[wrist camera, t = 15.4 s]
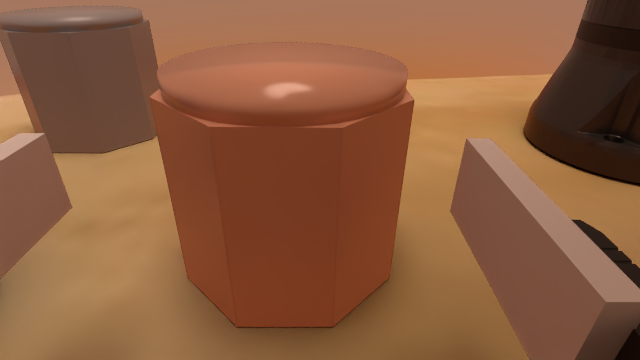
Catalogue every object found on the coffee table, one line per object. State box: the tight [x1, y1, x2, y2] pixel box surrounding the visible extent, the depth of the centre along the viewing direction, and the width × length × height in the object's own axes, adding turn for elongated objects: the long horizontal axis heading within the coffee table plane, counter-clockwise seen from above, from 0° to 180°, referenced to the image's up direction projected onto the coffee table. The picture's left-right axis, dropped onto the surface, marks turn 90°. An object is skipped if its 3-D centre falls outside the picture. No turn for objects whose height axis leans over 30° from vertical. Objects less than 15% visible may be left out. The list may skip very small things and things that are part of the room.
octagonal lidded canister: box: [149, 42, 414, 327], centre depth 18 cm, size 10×10×10 cm
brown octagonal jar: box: [0, 6, 160, 153], centre depth 33 cm, size 10×10×10 cm
